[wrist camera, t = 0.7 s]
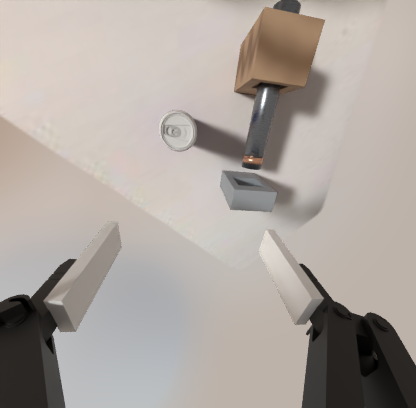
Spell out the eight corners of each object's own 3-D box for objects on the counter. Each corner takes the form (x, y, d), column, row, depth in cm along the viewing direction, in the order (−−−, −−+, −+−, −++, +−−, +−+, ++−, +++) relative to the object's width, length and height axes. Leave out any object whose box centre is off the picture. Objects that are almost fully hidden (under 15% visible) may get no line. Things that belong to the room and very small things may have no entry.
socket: (222, 170, 40) (234, 189, 28) (254, 173, 41) (277, 192, 29) (220, 186, 41) (230, 209, 30) (250, 188, 42) (271, 211, 31)
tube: (268, 13, 24) (280, -5, 21) (291, 18, 24) (307, 2, 21) (239, 164, 33) (244, 168, 30) (256, 165, 34) (263, 170, 31)
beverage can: (197, 117, 34) (200, 113, 21) (193, 143, 36) (194, 155, 23) (171, 112, 33) (158, 105, 20) (170, 139, 35) (156, 149, 22)
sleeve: (240, 45, 30) (265, 6, 20) (282, 52, 30) (325, 19, 21) (234, 91, 33) (252, 78, 23) (271, 97, 34) (304, 86, 24)
